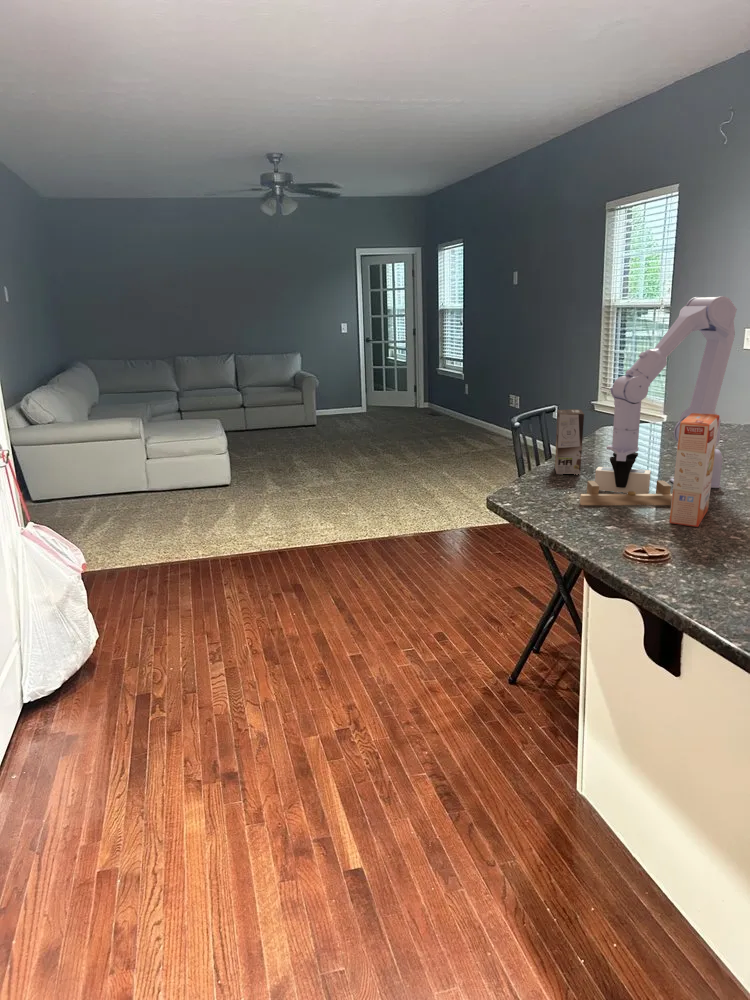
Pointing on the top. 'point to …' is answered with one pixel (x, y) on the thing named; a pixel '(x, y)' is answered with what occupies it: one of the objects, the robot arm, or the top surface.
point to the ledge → (627, 496)
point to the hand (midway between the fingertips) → (622, 484)
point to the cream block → (636, 482)
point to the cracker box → (693, 468)
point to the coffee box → (569, 441)
